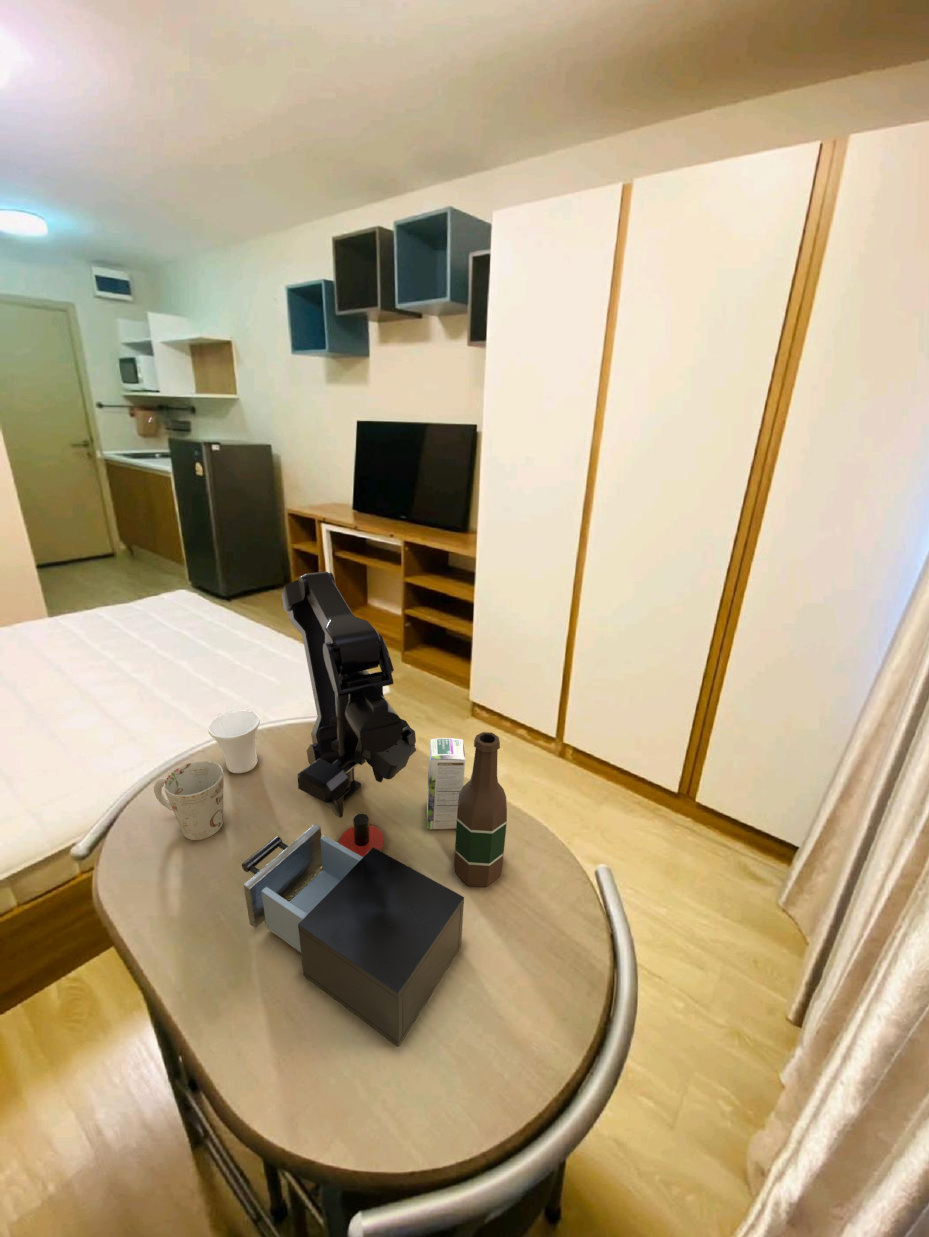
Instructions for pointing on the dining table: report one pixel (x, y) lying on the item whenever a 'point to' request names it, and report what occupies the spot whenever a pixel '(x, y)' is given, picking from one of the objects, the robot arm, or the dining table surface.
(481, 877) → the beer bottle
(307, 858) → the drawer
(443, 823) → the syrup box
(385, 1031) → the small cabinet
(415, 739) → the robot arm
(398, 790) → the dining table surface
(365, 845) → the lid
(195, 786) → the mug
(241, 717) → the cup
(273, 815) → the dining table surface
